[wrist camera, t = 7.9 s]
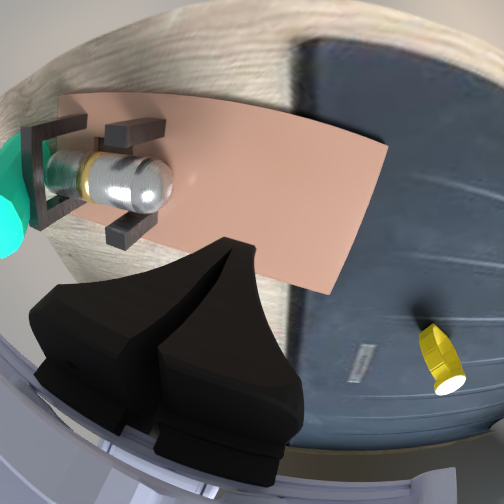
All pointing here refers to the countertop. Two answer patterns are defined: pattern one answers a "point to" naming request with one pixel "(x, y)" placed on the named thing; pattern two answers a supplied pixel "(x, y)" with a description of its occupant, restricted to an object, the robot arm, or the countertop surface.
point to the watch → (441, 360)
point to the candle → (14, 195)
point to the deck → (244, 179)
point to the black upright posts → (50, 211)
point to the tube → (110, 179)
